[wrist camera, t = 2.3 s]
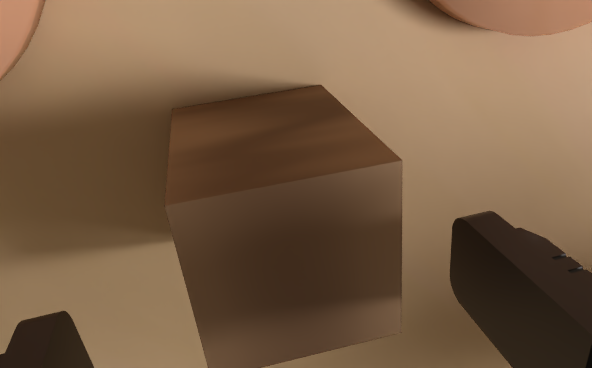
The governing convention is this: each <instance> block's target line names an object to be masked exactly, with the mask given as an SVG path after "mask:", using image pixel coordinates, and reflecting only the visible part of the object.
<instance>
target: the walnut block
mask: <svg viewBox="0 0 592 368" xmlns="http://www.w3.org/2000/svg"><path fill="white" fill-rule="evenodd" d="M164 206H165V210H166V214H167V217H168V221H169V225H170V228H171V232H172V236H173V239H174V243H175V247H176V251H177V254H178V258H179V262H180V265H181V269H182V273H183V276H184V280H185V284H186V287H187V291H188V295H189V299H190V302H191V306H192V310H193V313H194V317H195V321H196V324H197V328H198V332H199V335H200V339H201V343H202V347H203V350H204V354H205V358H206V361H207V365H208V368H261V367H265V366H270V365H274V364H278V363H282V362H286V361H290V360H294V359H298V358H302V357H306V356H310V355H314V354H318V353H322V352H326V351H330V350H334V349H338V348H342V347H346V346H350V345H354V344H358V343H362V342H366V341H370V340H374V339H378V338H382V337H386V336H390V335H394V334H398V333H401V306H402V160H401V159H400V158H399V157H398V156H397V155H396V154H395V153H394V152H393V151H392V150H390V149H389V148H388V147H387V146H386V145H385V144H384V143H383V142H382V141H381V140H380V139H379V138H378V137H376V136H375V135H374V134H373V133H372V132H371V131H370V130H369V129H368V128H367V127H366V126H365V125H364V124H363V123H361V122H360V121H359V120H358V119H357V118H356V117H355V116H354V115H353V114H352V113H351V112H350V111H349V110H348V109H346V108H345V107H344V106H343V105H342V104H341V103H340V102H339V101H338V100H337V99H336V98H335V97H334V96H332V95H331V94H330V93H329V92H328V91H327V90H326V89H325V88H324V87H323V86H322V85H318V86H312V87H305V88H299V89H293V90H287V91H281V92H275V93H268V94H262V95H256V96H250V97H244V98H237V99H231V100H225V101H219V102H213V103H206V104H200V105H194V106H188V107H182V108H176V109H172V119H171V131H170V144H169V156H168V168H167V180H166V193H165V205H164Z"/></svg>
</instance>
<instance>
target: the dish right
mask: <svg viewBox="0 0 592 368" xmlns="http://www.w3.org/2000/svg"><path fill="white" fill-rule="evenodd" d="M429 1H430V2H431V3H433V4H434V5H435V6H436V7H437V8H439V9H440V10H442V11H443V12H445V13H447V14H448V15H450V16H451V17H453V18H455V19H457V20H460V21H462V22H464V23H467V24H469V25H473V26H477V27H481V28H485V29H489V30H494V31H498V32H502V33H506V34H510V35H522V36H539V35H551V34H555V33H559V32H564V31H568V30H572V29H574V28H577V27H580V26H582V25H585V24H588V23H590V22H592V0H429Z"/></svg>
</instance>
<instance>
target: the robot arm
mask: <svg viewBox="0 0 592 368" xmlns="http://www.w3.org/2000/svg"><path fill="white" fill-rule="evenodd" d="M450 281H451V286H452V289H453V292H454V294H455V296H456V298H457V300H458V302H459V303H460V304H461V305H462V307H463V308H464V309H465V310H466V312H467V313H468V314H469V315H470V316H471V318H472V319H473V320H474V321H475V323H476V324H477V325H478V326H479V327H480V329H481V330H482V331H483V332H484V333H485V335H486V336H487V337H488V338H489V340H490V341H491V342H492V343H493V344H494V346H495V347H496V348H497V349H498V350H499V352H500V353H501V354H502V355H503V357H504V358H505V359H506V360H507V361H508V363H509V364H510V365H511V366H512V367H513V368H592V273H591V272H589V271H588V270H583V268H582V266H581V265H580V264H579V263H577V262H576V261H575V260H573V259H572V258H571V257H566V254H565V253H564V252H563V251H562V250H560V249H559V248H558V247H556V246H555V245H554V244H552V243H551V242H550V241H548V240H547V239H546V238H543V237H541V236H539V235H536V234H534V233H532V232H529V231H527V230H524V229H522V228H517V229H515V228H514V227H513V226H511V225H510V224H509V223H508V222H506V221H505V220H504V219H503V218H501V217H500V216H499V215H498V214H496V213H495V212H492V211H487V212H482V213H478V214H474V215H470V216H466V217H461V218H457V219H456V220H455V221H454V223H453V227H452V244H451V262H450ZM0 368H94V366H93V364H92V362H91V360H90V357H89V355H88V353H87V351H86V349H85V346H84V344H83V342H82V340H81V338H80V335H79V333H78V331H77V329H76V327H75V325H74V322H73V320H72V318H71V316H70V315H69V314H68V313H67V312H66V311H61V312H57V313H52V314H48V315H44V316H40V317H36V318H31V319H27V320H23V321H21V322H19V324H18V325H17V327H16V329H15V331H14V334H13V336H12V338H11V341H10V343H9V345H8V348H7V350H6V352H5V354H1V355H0Z"/></svg>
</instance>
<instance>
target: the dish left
mask: <svg viewBox="0 0 592 368" xmlns="http://www.w3.org/2000/svg"><path fill="white" fill-rule="evenodd" d="M44 4H45V0H0V81H1V80H2V79H3V78H4V77H5V76H6V75H7V73H8V72H9V71H10V70H11V69H12V68H13V67H14V66H15V64H16V63H17V62H18V60H19V59H20V57H21V56H22V55H23V53H24V52H25V50H26V49H27V47H28V45H29V43H30V41H31V39H32V37H33V35H34V33H35V31H36V29H37V26H38V24H39V20H40V17H41V14H42V10H43V7H44Z"/></svg>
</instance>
